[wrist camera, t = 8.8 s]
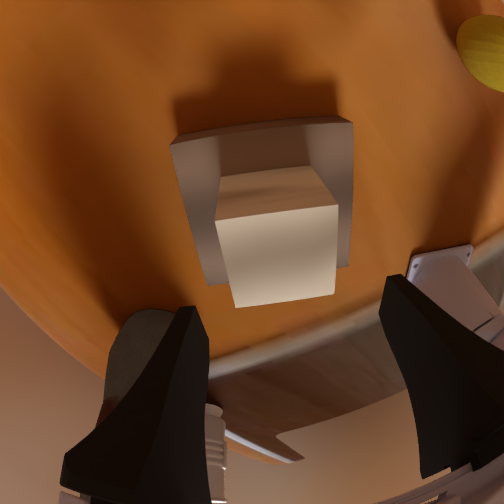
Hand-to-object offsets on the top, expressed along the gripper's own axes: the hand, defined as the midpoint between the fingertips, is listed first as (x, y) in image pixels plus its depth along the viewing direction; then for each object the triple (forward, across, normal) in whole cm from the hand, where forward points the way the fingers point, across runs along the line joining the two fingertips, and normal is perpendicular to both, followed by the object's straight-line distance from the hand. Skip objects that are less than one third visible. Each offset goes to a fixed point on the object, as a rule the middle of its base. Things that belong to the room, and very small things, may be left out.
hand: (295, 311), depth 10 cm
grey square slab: (+11, 0, 0) cm, 11 cm away
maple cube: (+8, 0, 0) cm, 8 cm away
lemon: (+11, -16, -11) cm, 22 cm away
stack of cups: (+11, +13, +32) cm, 36 cm away
